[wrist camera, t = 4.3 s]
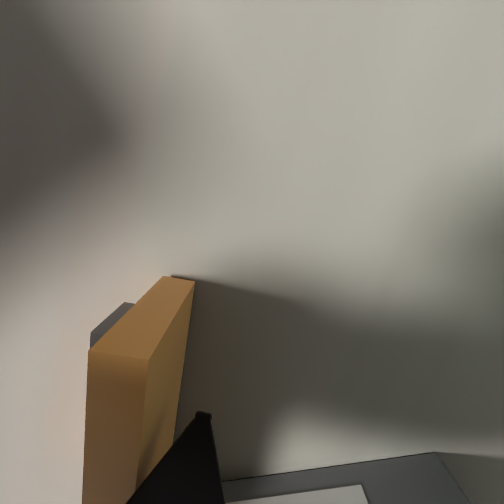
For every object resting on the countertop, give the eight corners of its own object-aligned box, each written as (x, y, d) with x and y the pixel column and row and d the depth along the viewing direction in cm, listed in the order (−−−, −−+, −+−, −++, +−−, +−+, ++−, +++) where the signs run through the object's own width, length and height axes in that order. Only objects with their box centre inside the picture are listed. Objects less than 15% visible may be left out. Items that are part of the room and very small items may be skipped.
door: (195, 280, 10) (145, 364, 5) (166, 488, 12) (114, 679, 7) (145, 271, 10) (46, 349, 5) (126, 483, 12) (46, 673, 7)
